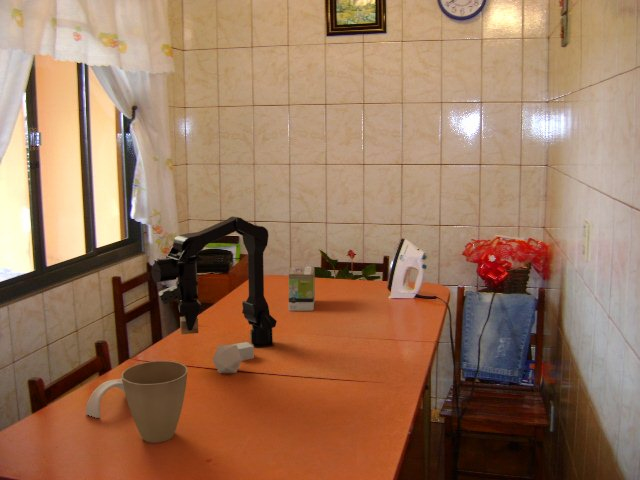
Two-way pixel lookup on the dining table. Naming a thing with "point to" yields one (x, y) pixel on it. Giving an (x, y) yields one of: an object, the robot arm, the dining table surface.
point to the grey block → (245, 350)
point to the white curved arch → (97, 395)
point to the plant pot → (155, 397)
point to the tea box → (301, 288)
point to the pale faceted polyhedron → (227, 359)
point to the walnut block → (184, 326)
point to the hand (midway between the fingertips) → (189, 327)
